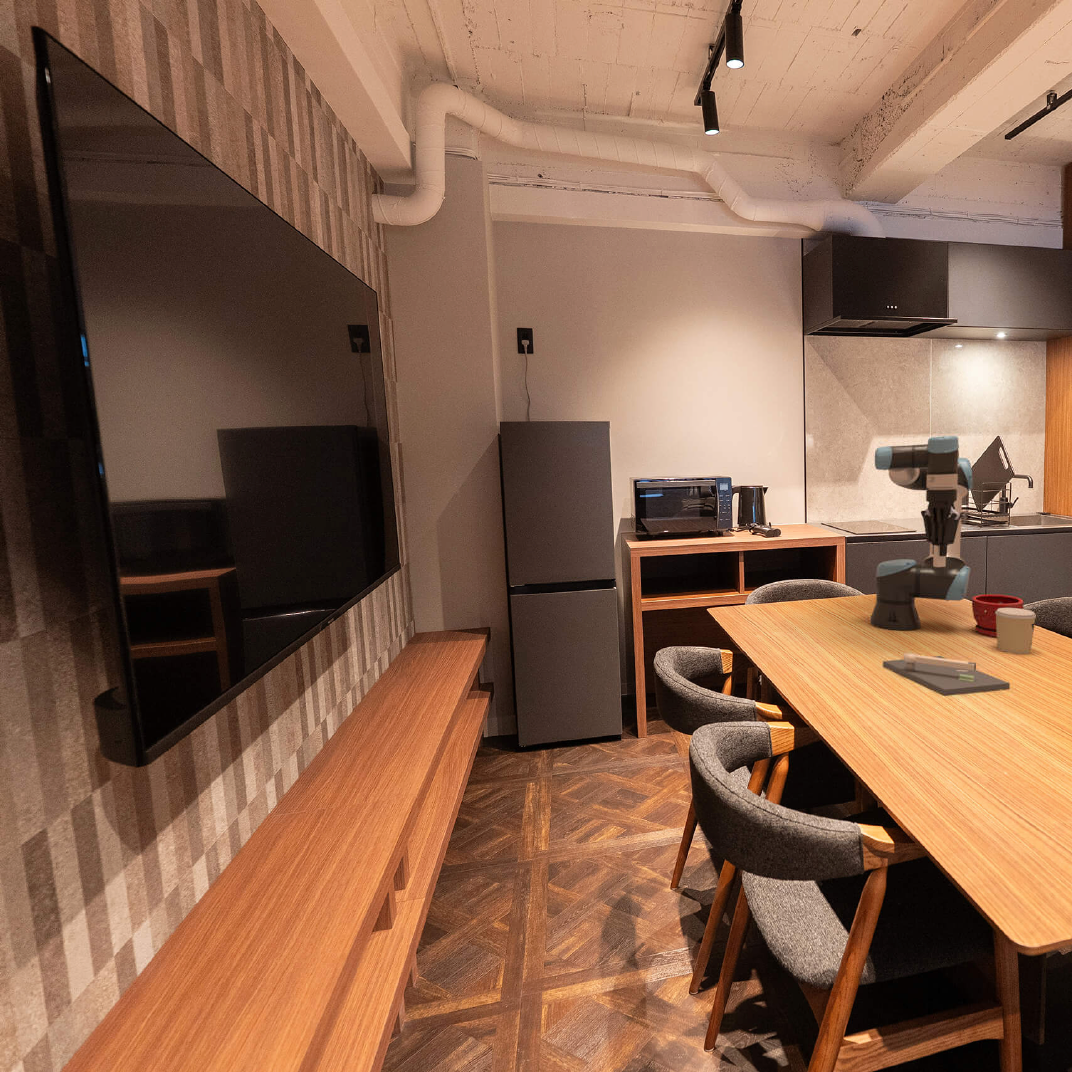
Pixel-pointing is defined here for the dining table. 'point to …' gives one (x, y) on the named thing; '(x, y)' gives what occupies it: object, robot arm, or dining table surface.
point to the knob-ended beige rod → (938, 661)
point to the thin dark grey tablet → (946, 677)
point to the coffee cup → (1014, 630)
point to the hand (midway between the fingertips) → (939, 566)
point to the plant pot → (991, 611)
